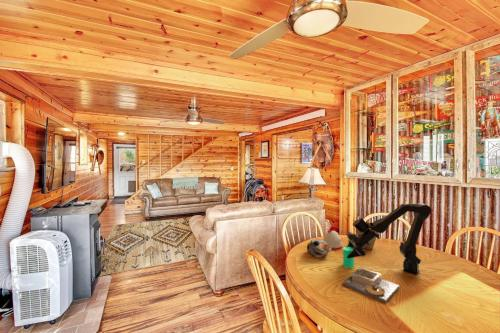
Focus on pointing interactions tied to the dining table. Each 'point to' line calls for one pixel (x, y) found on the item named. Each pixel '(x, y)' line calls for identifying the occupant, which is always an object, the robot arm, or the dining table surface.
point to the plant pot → (369, 242)
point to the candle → (347, 262)
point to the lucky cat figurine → (318, 248)
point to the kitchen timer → (333, 239)
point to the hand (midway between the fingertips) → (346, 254)
